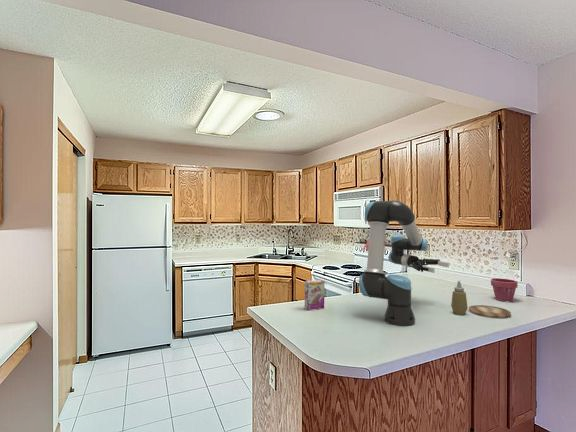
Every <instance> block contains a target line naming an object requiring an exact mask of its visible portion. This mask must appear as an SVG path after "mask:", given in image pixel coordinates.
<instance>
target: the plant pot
mask: <svg viewBox="0 0 576 432" xmlns="http://www.w3.org/2000/svg"><path fill="white" fill-rule="evenodd" d="M518 283H519V282H518V280H515V279H509V278H500V277H499V278H498V277H497V278H496V277H495V278H491V279H490V285H491V286H492V289H493V290H492V291H493V294H494V297H495V299H496V300H497V301H499V300H501V301H500V302H505V301H511V302H513V301H514V297H515V294H516V290H517V288H518ZM512 300H513V301H512Z"/></svg>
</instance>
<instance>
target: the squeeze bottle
mask: <svg viewBox="0 0 576 432" xmlns="http://www.w3.org/2000/svg"><path fill="white" fill-rule="evenodd" d="M467 300H468V299H467V293H466V292H465V288H464V287H463V286H462V282H461V281H460V280H458V281H457V284H456V286H454V291H452V297H451V302H450V303H451V305H450V306H451V309H452V312H453V314H456V315H460V316H461V315H466V313H467V310H468V309H469V306H468V301H467Z"/></svg>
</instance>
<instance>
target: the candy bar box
mask: <svg viewBox="0 0 576 432" xmlns="http://www.w3.org/2000/svg"><path fill="white" fill-rule="evenodd" d="M305 308H306V309H307V310H306V309H305ZM319 308H324V309H325V280H321V279H319V280H318V279H317V280H305V281H304V309H305V310H306V311H311V310H310V309H316V310H320V309H319Z"/></svg>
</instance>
